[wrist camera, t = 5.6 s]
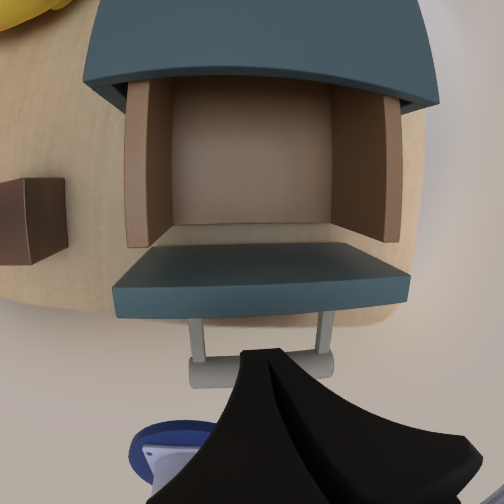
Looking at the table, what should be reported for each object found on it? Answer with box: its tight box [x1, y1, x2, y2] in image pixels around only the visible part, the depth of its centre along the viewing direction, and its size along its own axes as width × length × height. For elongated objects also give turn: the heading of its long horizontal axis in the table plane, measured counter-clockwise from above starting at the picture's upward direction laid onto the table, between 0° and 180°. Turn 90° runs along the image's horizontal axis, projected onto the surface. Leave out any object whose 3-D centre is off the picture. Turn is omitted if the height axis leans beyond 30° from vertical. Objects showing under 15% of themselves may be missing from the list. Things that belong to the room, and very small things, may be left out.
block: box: [0, 178, 68, 265], centre depth 13 cm, size 4×4×4 cm
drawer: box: [112, 75, 411, 388], centre depth 12 cm, size 18×11×7 cm, turn 0°
